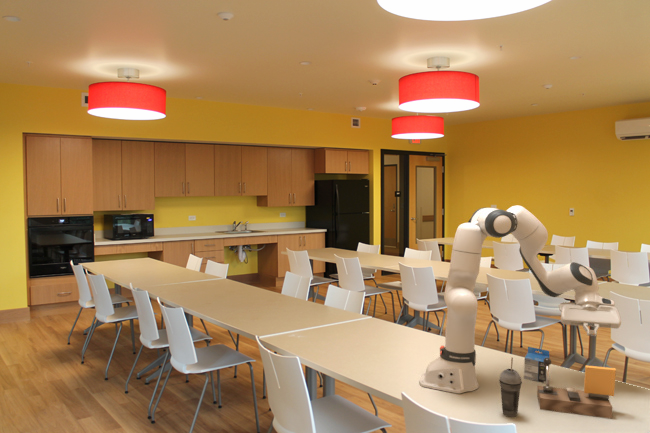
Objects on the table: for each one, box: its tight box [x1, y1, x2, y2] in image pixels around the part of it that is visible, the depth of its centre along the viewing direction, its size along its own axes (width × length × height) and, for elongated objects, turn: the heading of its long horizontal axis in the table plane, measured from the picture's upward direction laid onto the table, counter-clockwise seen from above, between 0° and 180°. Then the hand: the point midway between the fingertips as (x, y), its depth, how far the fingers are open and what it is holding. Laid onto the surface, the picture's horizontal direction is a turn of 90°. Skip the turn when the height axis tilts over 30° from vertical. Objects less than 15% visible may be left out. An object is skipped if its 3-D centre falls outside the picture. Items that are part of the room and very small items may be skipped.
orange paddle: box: [583, 365, 617, 400], centre depth 169 cm, size 9×2×11 cm, turn 71°
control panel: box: [536, 385, 613, 419], centre depth 173 cm, size 22×12×5 cm, turn 71°
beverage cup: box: [498, 356, 523, 419], centre depth 166 cm, size 7×7×20 cm
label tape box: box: [523, 346, 551, 384], centre depth 199 cm, size 9×4×12 cm, turn 46°
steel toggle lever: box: [542, 358, 553, 392], centre depth 177 cm, size 3×3×12 cm
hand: (591, 335), depth 183 cm, fingers closed
